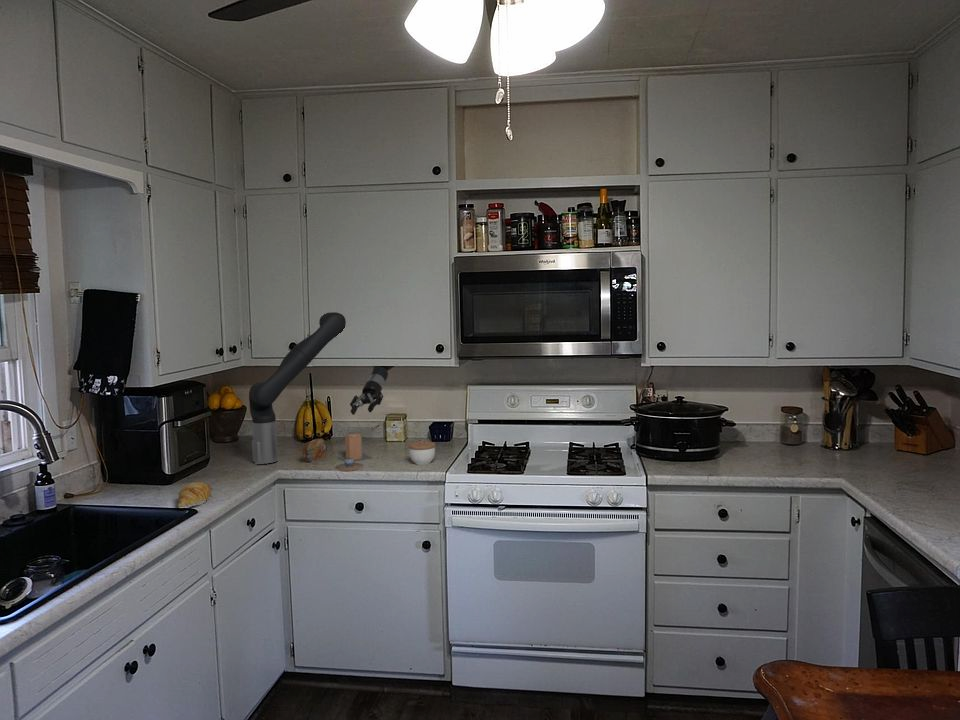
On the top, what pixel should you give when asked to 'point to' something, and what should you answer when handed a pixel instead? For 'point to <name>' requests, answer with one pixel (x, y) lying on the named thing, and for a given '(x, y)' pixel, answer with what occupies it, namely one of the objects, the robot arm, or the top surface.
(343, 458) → the mat
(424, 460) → the lidded jar
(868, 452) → the top surface
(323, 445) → the mottled brown slab
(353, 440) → the salmon orange block
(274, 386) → the robot arm
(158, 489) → the top surface
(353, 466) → the pot lid
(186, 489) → the croissant
